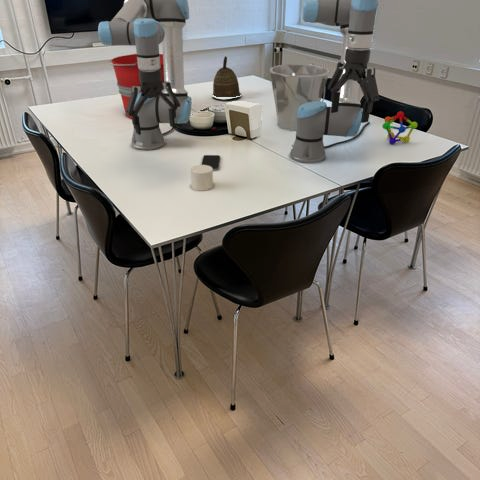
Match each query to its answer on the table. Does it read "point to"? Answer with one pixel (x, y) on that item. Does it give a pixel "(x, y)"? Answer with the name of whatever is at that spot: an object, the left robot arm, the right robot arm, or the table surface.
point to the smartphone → (211, 161)
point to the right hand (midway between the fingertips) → (348, 117)
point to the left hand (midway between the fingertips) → (155, 130)
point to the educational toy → (398, 128)
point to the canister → (201, 177)
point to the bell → (225, 82)
